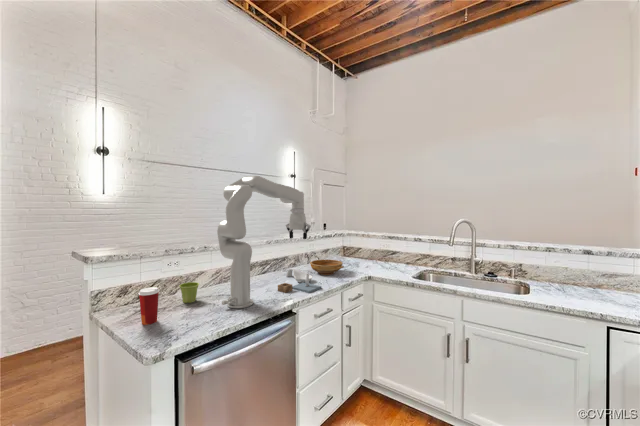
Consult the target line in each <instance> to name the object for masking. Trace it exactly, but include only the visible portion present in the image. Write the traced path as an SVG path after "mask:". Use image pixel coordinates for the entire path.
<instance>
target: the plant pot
mask: <svg viewBox="0 0 640 426" xmlns="http://www.w3.org/2000/svg"><path fill="white" fill-rule="evenodd" d="M199 285H200V283H199V282H197V281H191V282H190V281H189V282H185V283H181V284H179V289H180V293H181V298H182V302H183V303H184V304H187V303H189V304H190V303H194V302H196V300H197V294H198V288H199Z"/></svg>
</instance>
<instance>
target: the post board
mask: <svg viewBox="0 0 640 426" xmlns="http://www.w3.org/2000/svg"><path fill="white" fill-rule="evenodd" d="M305 273H306V283H298V284H294V285H292V290H295V291H298V292H302V293H306V294H307V293H308V294H310V293H313V292H316V291H318V290H321V289H322V286H321V285H318V284H312V283H310V281H309V275H310V274H309V272H305Z"/></svg>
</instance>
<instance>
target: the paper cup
mask: <svg viewBox="0 0 640 426" xmlns="http://www.w3.org/2000/svg"><path fill="white" fill-rule="evenodd" d="M159 293H160V289H159V288H158V287H156V286H155V287H154V286H152V287H145V288H141V289H139V292H138V295H139V298H138V299H139V307H140V308H139V309H140V310H139V311H140V319H141V320H140V322H141V325H144V326H148V324H149V325H152V324H153V325H154V324H155V323H157V321H158V313H159V311H158V310H159V297H160V296H159Z"/></svg>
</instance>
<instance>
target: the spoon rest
mask: <svg viewBox="0 0 640 426" xmlns="http://www.w3.org/2000/svg"><path fill="white" fill-rule="evenodd" d="M306 273H307V272H305V271H302V270H301V269H299V268H296V267H291V268H288V270H287V272H286V275H285V276H286V278H288V277H289V278H290V277H294V280H295V281H296V282H297V283H298V284H301V283H306ZM312 279H313V276H312V275H311V274H309V282H310V281H311V280H312Z"/></svg>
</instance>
